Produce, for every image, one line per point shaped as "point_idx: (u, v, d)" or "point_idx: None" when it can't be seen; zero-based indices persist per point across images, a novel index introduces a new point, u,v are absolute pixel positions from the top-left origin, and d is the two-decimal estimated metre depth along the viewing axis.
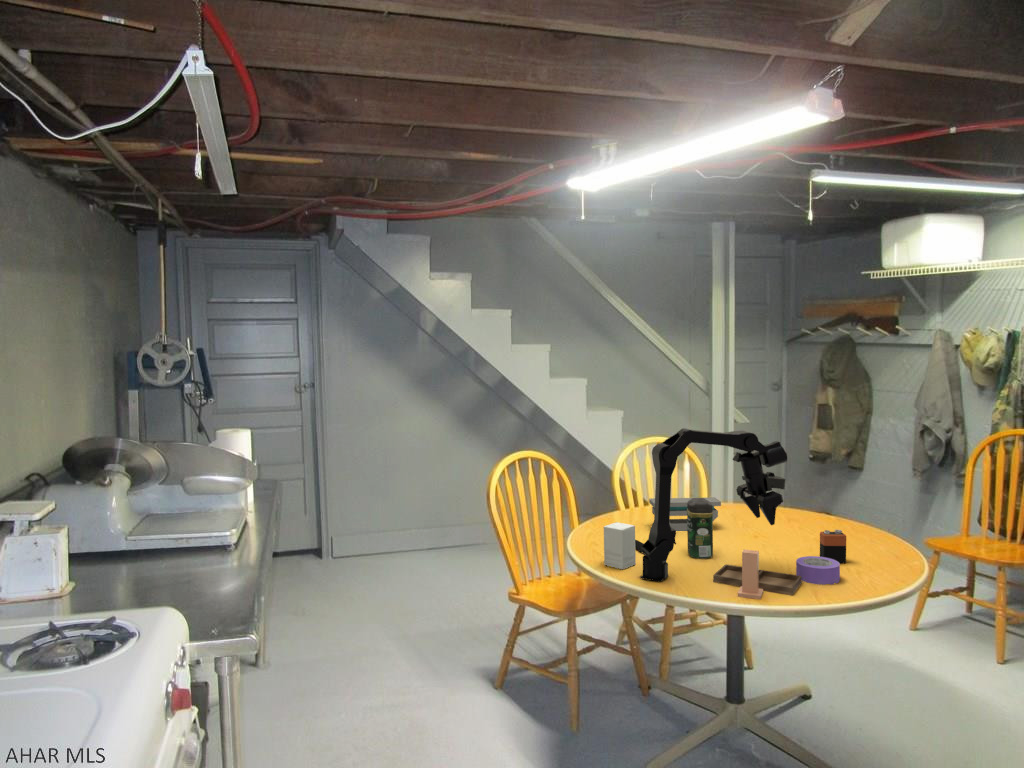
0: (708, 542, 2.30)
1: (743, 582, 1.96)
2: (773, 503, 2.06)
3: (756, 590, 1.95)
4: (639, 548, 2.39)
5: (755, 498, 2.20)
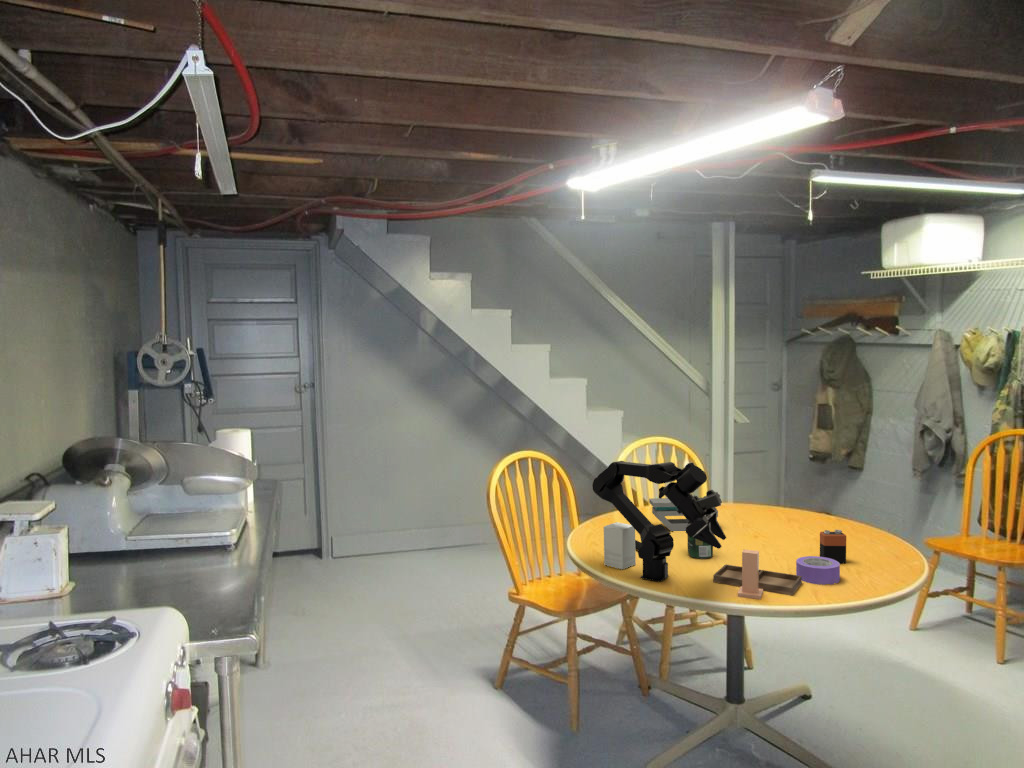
0: None
1: (743, 582, 1.96)
2: (696, 530, 1.93)
3: (756, 590, 1.95)
4: (639, 548, 2.39)
5: (712, 521, 2.05)
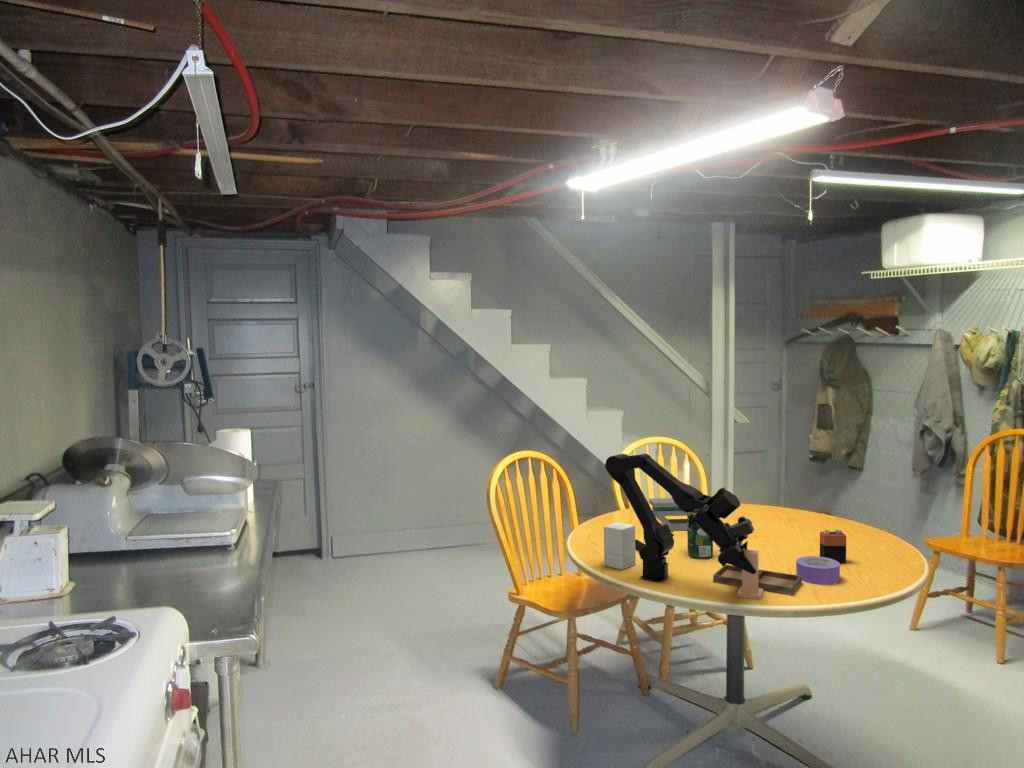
0: (708, 542, 2.30)
1: (743, 582, 1.96)
2: (729, 559, 1.90)
3: (756, 590, 1.95)
4: (639, 548, 2.39)
5: None
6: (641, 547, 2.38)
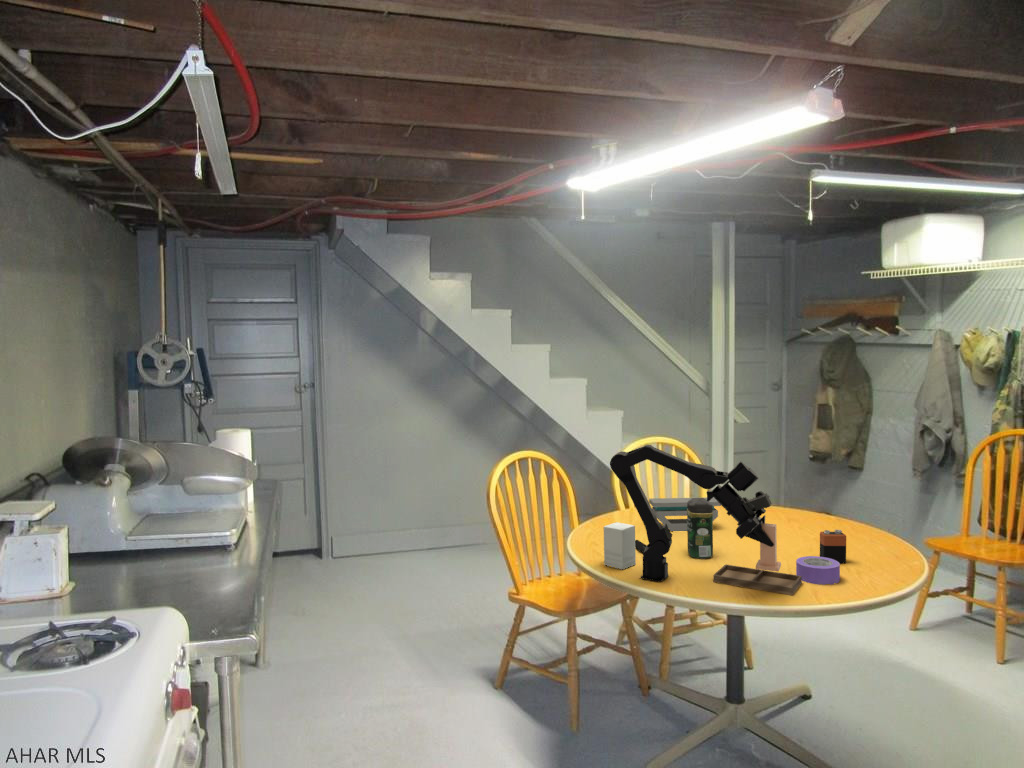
0: (708, 542, 2.30)
1: (761, 555, 2.00)
2: (747, 531, 1.94)
3: (774, 562, 1.98)
4: (639, 548, 2.39)
5: None
6: (641, 547, 2.38)
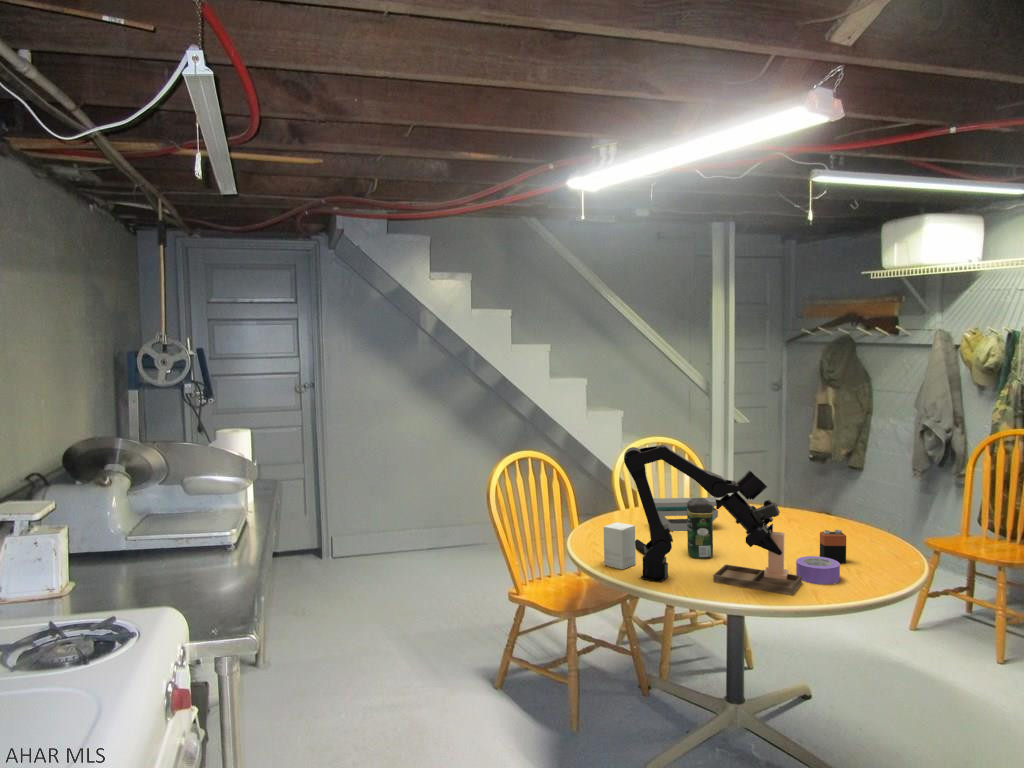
0: (708, 542, 2.30)
1: (769, 563, 2.03)
2: (756, 540, 1.96)
3: (782, 570, 2.01)
4: (639, 548, 2.39)
5: None
6: (641, 547, 2.38)
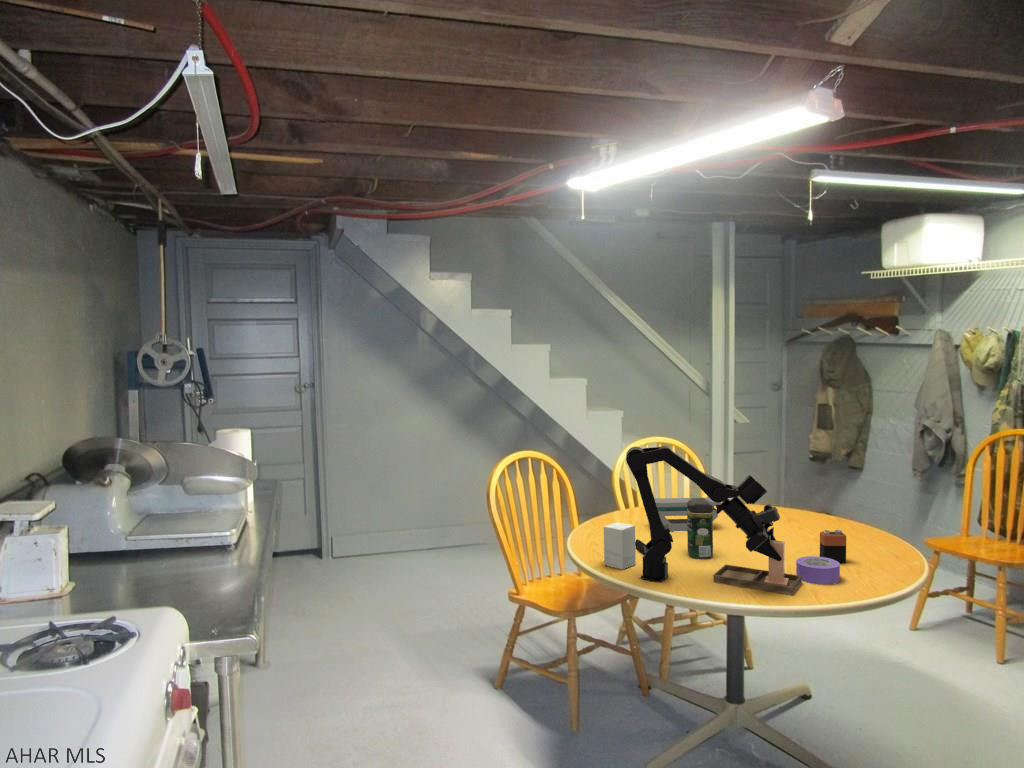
0: (708, 542, 2.30)
1: (769, 571, 2.03)
2: (756, 544, 1.96)
3: (782, 579, 2.01)
4: (639, 548, 2.39)
5: (769, 536, 2.07)
6: (641, 547, 2.38)
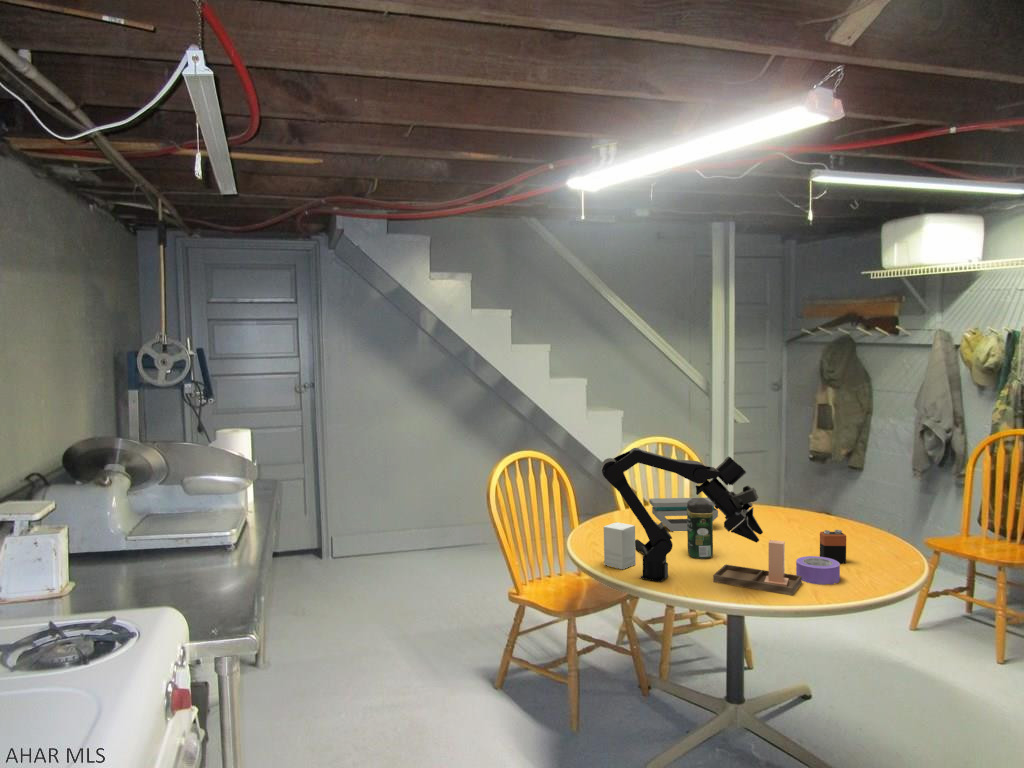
0: (708, 542, 2.30)
1: (769, 571, 2.03)
2: (734, 524, 1.99)
3: (782, 579, 2.01)
4: (638, 548, 2.39)
5: (749, 516, 2.11)
6: (640, 547, 2.38)
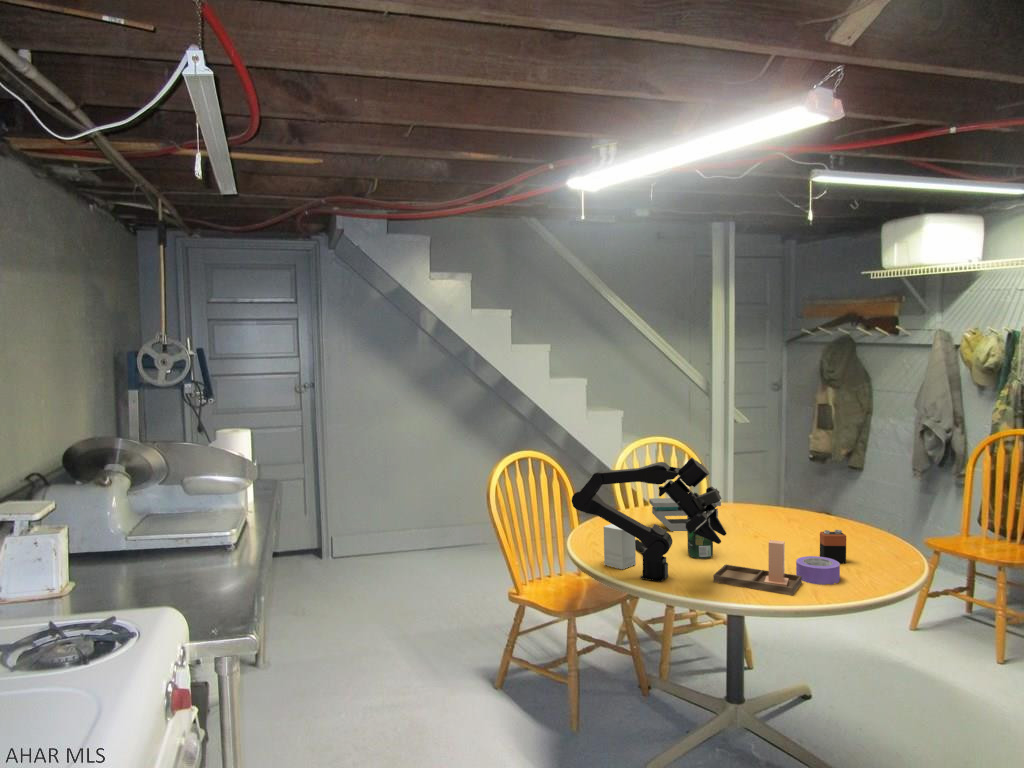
0: (708, 542, 2.30)
1: (769, 571, 2.03)
2: (696, 526, 1.97)
3: (782, 579, 2.01)
4: (638, 548, 2.39)
5: (712, 517, 2.09)
6: (640, 547, 2.38)
